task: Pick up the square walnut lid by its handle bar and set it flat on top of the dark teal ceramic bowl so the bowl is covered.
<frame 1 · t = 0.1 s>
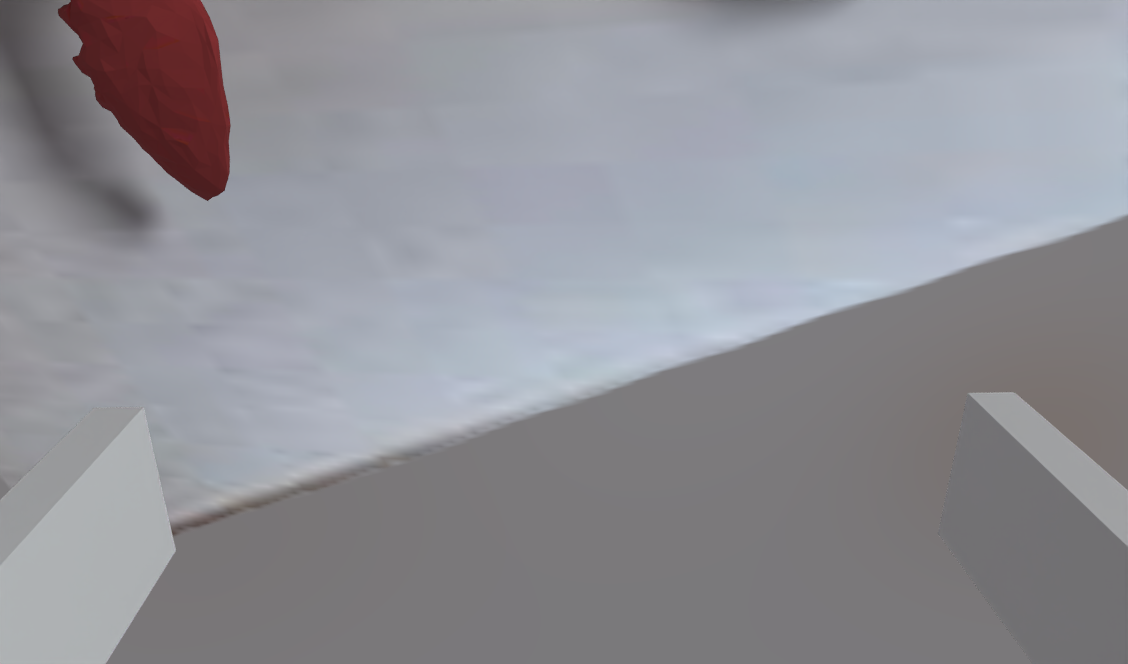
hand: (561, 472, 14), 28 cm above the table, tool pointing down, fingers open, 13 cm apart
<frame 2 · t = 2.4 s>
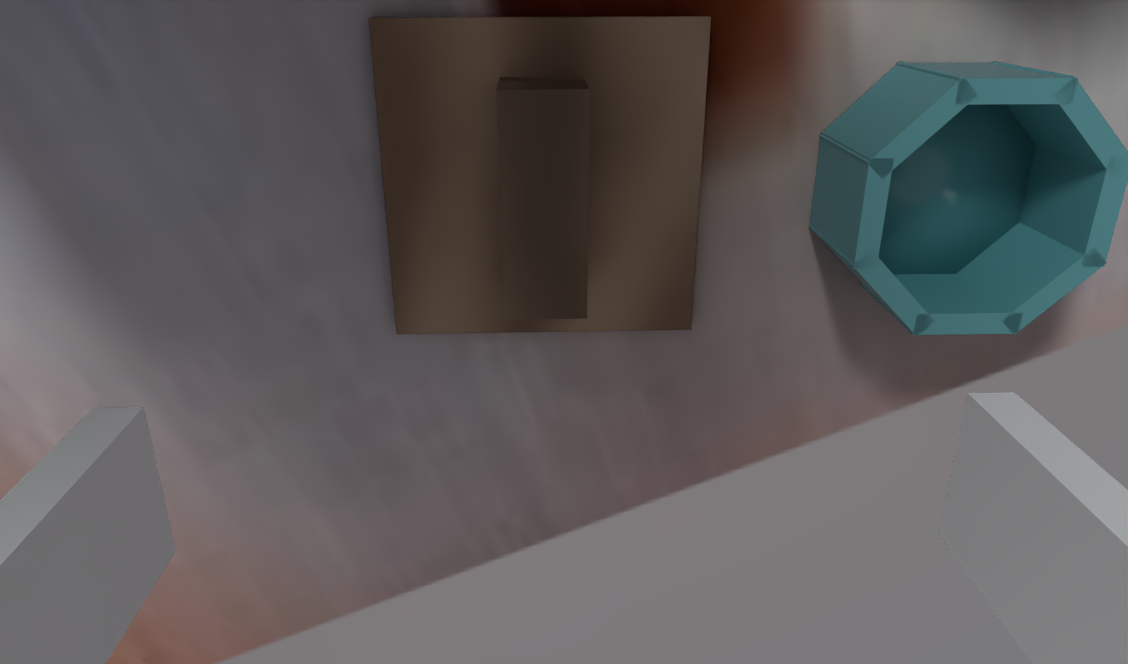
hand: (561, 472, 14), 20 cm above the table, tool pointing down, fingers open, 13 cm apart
walnut lid: (542, 179, 33), on the table
teal bowl: (926, 180, 33), on the table
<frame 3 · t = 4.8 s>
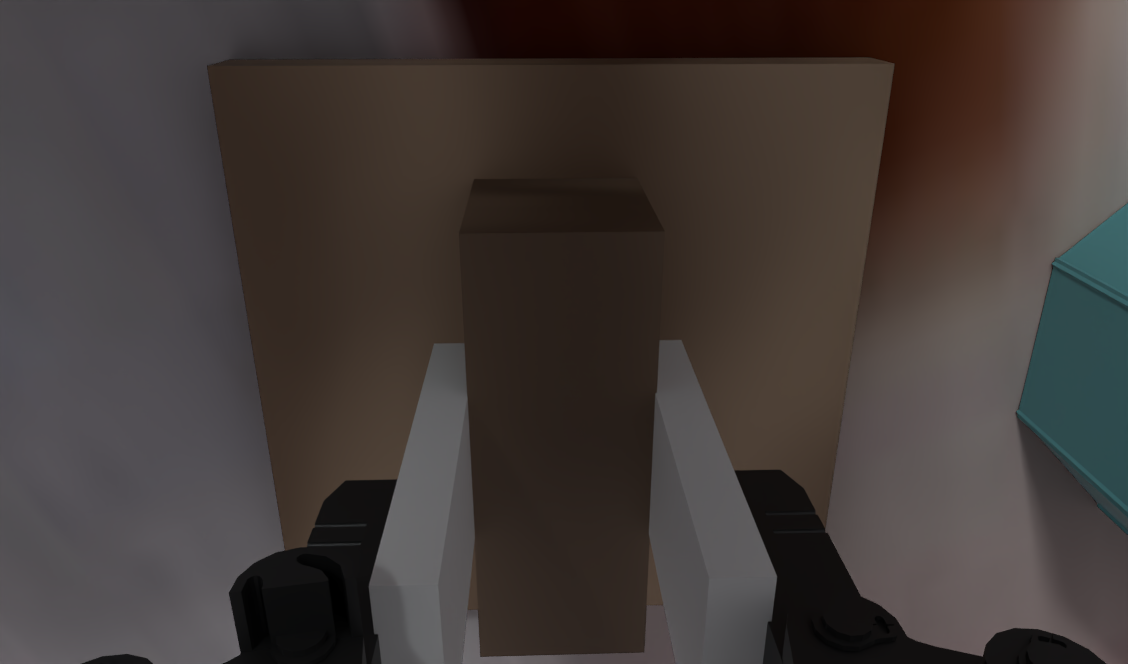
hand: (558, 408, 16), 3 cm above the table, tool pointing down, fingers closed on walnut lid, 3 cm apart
walnut lid: (555, 349, 18), on the table, touching gripper
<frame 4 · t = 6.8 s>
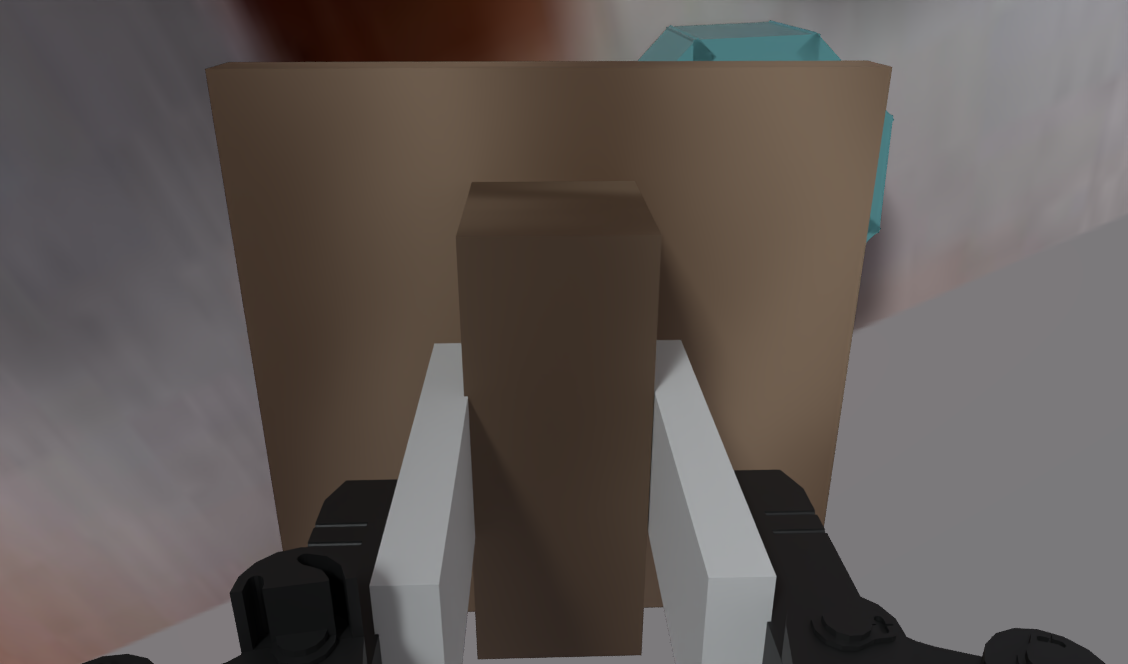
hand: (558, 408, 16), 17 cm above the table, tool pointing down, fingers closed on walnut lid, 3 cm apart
walnut lid: (553, 352, 18), point 15 cm above the table, touching gripper
teal bowl: (715, 149, 31), on the table
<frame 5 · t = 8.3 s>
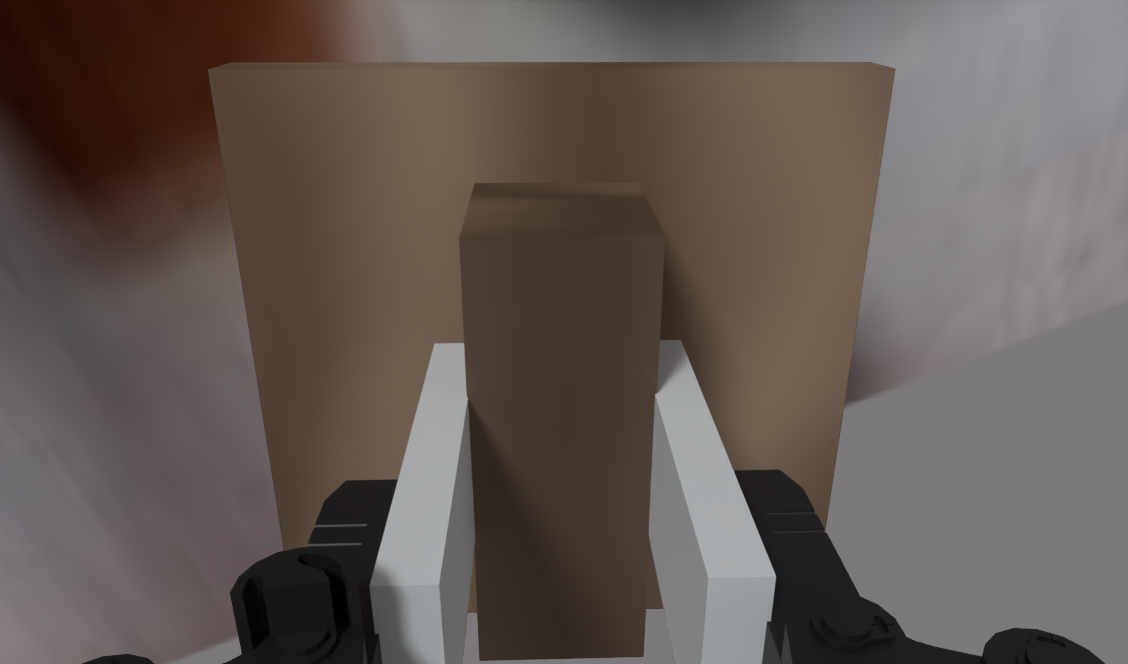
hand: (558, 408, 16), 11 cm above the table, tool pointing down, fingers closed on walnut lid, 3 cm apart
walnut lid: (555, 353, 18), point 8 cm above the table, touching gripper
when the fingers open (9 cm above the table, at t = 9.2 s): walnut lid drops 1 cm, resting on teal bowl.
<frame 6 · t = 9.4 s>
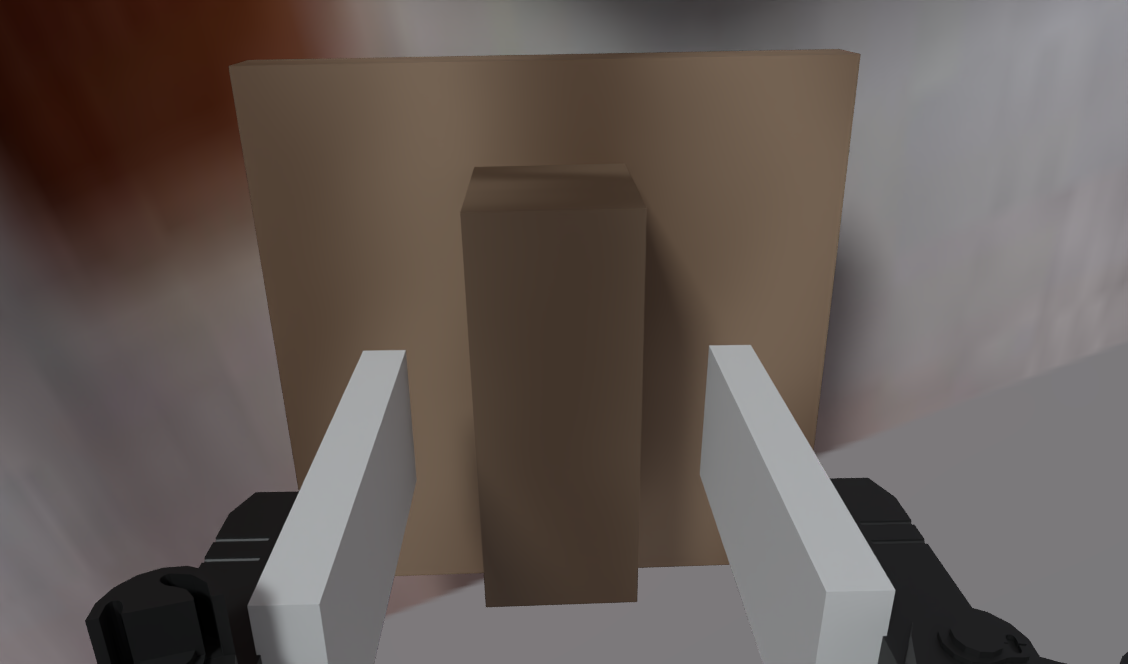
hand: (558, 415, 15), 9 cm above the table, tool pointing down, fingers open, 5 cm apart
walnut lid: (552, 327, 19), point 5 cm above the table, touching teal bowl
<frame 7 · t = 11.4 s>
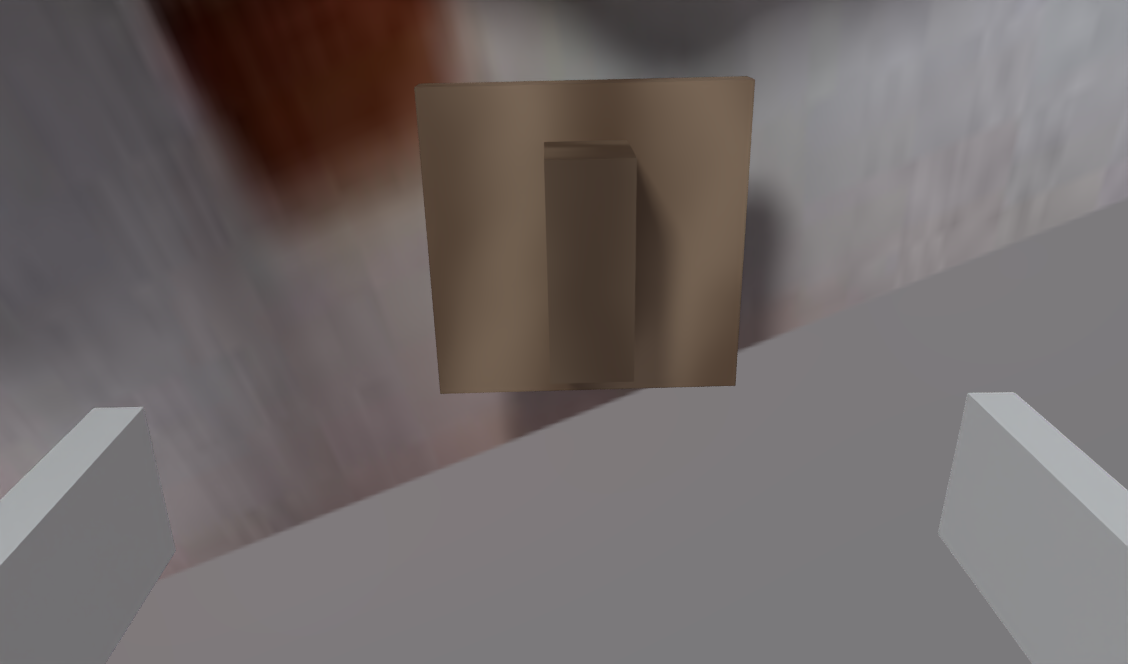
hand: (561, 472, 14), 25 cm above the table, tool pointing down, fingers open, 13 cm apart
walnut lid: (585, 238, 33), point 5 cm above the table, touching teal bowl
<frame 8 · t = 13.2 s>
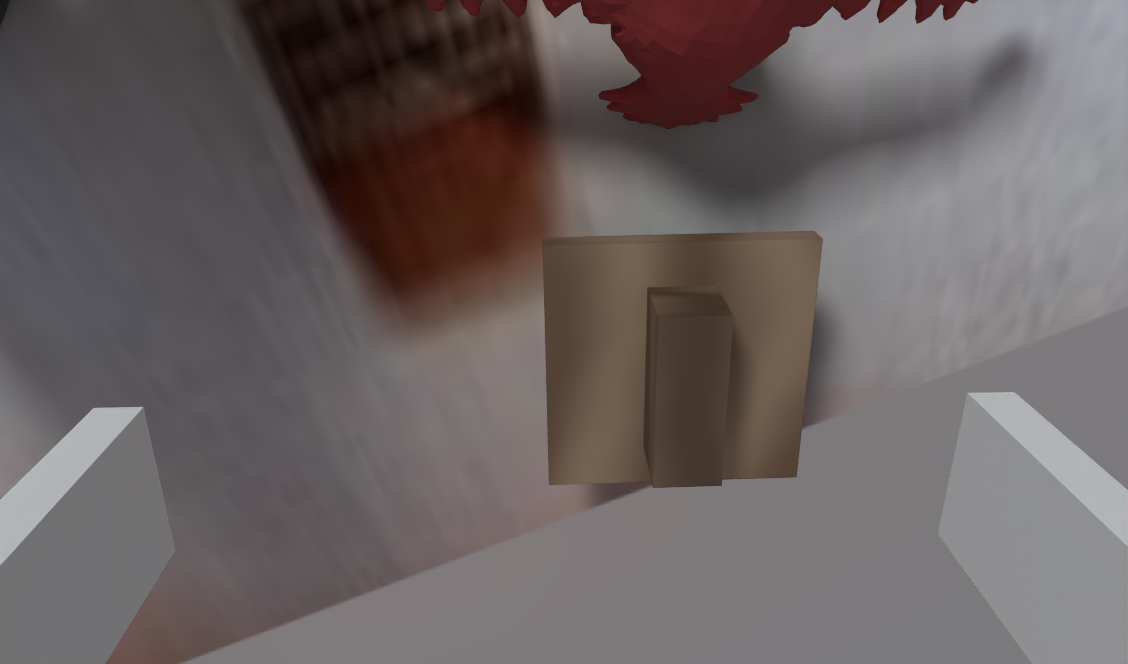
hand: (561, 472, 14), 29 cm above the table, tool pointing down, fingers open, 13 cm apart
walnut lid: (673, 358, 39), point 5 cm above the table, touching teal bowl
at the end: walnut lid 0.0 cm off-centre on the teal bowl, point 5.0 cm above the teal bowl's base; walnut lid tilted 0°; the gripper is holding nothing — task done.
